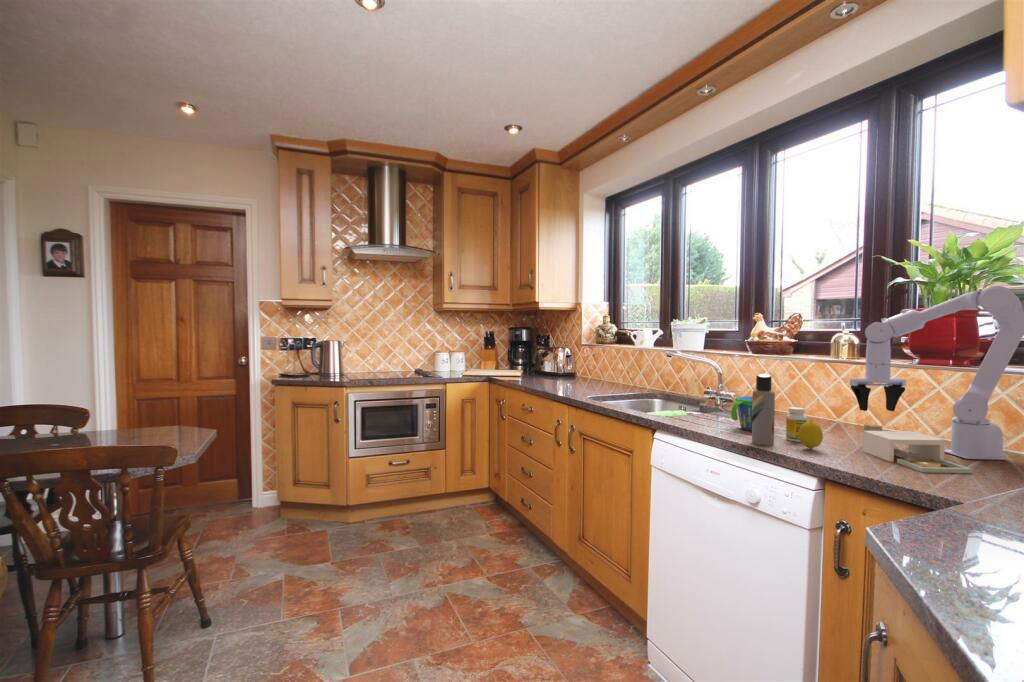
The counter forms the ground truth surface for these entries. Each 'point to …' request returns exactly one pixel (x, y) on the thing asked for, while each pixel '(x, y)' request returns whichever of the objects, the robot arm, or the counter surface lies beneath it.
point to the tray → (954, 467)
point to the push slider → (898, 452)
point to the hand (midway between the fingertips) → (876, 410)
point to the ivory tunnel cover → (885, 440)
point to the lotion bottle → (763, 411)
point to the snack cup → (743, 412)
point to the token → (926, 463)
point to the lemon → (810, 434)
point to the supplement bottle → (794, 423)
